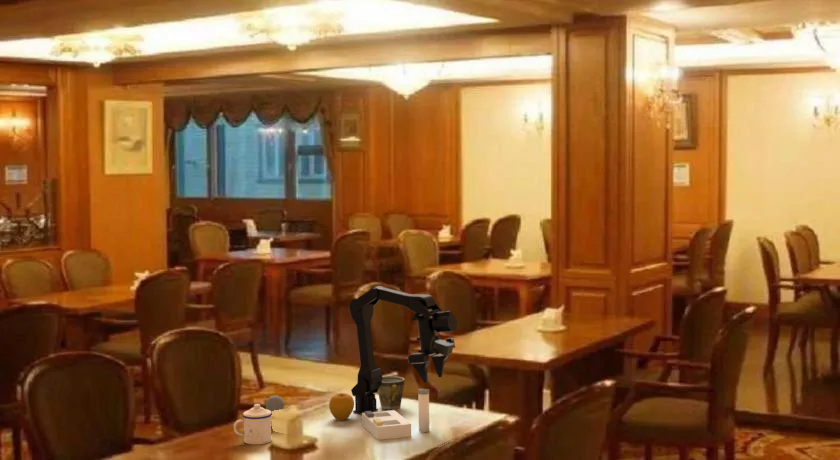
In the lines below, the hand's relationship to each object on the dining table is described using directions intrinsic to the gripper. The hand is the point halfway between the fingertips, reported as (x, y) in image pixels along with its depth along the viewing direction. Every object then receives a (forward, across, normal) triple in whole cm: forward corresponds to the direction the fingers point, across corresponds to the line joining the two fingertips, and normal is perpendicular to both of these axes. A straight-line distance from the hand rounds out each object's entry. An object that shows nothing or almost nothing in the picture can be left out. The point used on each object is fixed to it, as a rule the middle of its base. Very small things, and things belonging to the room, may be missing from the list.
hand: (433, 379), depth 366 cm
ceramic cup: (+11, +8, +24) cm, 28 cm away
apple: (+10, -12, +30) cm, 34 cm away
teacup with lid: (+9, -48, +38) cm, 62 cm away
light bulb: (+8, -29, +45) cm, 54 cm away
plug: (+14, -12, -2) cm, 19 cm away
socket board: (+13, -17, +9) cm, 23 cm away
